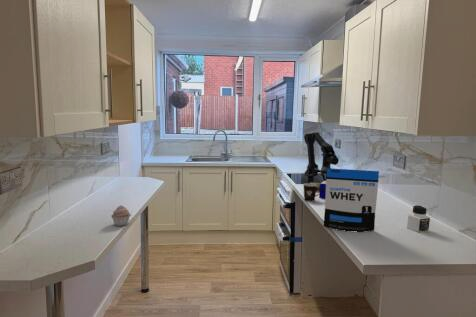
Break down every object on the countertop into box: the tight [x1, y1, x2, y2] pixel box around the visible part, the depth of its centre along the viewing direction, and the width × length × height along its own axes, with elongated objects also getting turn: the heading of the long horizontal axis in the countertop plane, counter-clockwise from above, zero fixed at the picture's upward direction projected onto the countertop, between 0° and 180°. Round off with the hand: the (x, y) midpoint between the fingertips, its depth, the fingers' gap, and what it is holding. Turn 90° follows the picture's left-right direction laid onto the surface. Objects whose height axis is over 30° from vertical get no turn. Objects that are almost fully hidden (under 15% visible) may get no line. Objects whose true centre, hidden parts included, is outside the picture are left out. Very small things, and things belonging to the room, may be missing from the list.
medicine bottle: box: [406, 204, 431, 233], centre depth 173 cm, size 7×7×12 cm
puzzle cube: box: [318, 180, 326, 200], centre depth 232 cm, size 10×10×10 cm
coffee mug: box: [303, 182, 323, 202], centre depth 223 cm, size 12×9×10 cm
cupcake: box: [110, 204, 132, 227], centre depth 172 cm, size 9×9×10 cm
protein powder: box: [323, 167, 380, 233], centre depth 171 cm, size 10×24×30 cm, turn 77°
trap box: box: [311, 182, 321, 193], centre depth 252 cm, size 15×18×6 cm
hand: (325, 183), depth 254 cm, fingers closed
